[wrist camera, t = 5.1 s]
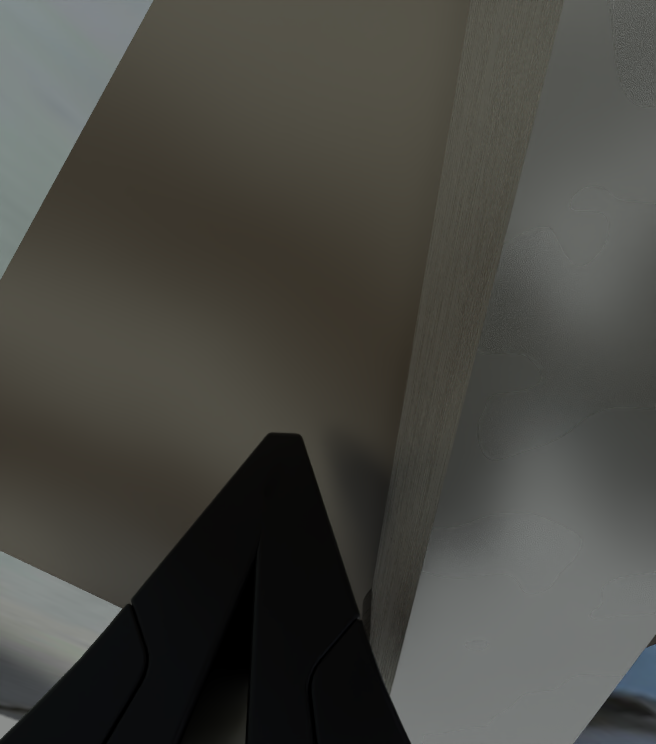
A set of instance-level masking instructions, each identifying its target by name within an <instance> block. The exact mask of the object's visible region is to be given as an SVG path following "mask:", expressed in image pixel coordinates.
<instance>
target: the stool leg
mask: <svg viewBox="0 0 656 744" xmlns="http://www.w3.org/2000/svg"><path fill="white" fill-rule="evenodd" d="M362 621H363V623H364V627H365V630H366V633H367V636H368V639H369V642H370V645H371V648H372V650H373V653H374V656H375V659H376V661H377V664H378V667H379V670H380V672H381V675H382V678H383V681H384V683H385V686H386V688H387V690H388V693H389V695H390V697H391V699H392V702H393V704H394V706H395V709H396V711H397V713H398V716H399V718H400V720H401V723H402V725H403V727H404V729H405V731H406V733H407V735H408V737H409V740H410V742H411V744H573V743H574V742H575V741H576V739H577V738H578V737H579V735H580V734H581V733H582V731H583V730H584V729H585V727H586V726H587V725H588V723H589V722H590V721H591V719H592V718H593V717H594V715H595V714H596V713H597V712H598V710H599V709H600V708H601V706H602V705H603V704H604V702H605V701H606V700H607V698H608V697H609V696H610V694H611V693H612V692H613V690H614V689H615V688H616V686H617V685H618V684H619V682H620V681H621V680H622V678H623V677H624V676H625V674H626V673H627V672H628V670H629V669H630V668H631V666H632V665H633V664H634V662H635V661H636V660H637V658H638V657H639V656H640V654H641V653H642V652H643V650H644V649H645V648H646V647H647V645H648V644H649V643H650V641H651V640H652V639H653V637H654V636H655V635H656V0H471V2H470V8H469V14H468V19H467V25H466V31H465V37H464V43H463V49H462V55H461V61H460V67H459V73H458V79H457V85H456V91H455V97H454V103H453V109H452V115H451V121H450V127H449V133H448V138H447V144H446V150H445V156H444V162H443V168H442V174H441V180H440V186H439V192H438V198H437V204H436V210H435V216H434V222H433V228H432V234H431V240H430V246H429V252H428V258H427V263H426V269H425V275H424V281H423V287H422V293H421V299H420V305H419V311H418V317H417V323H416V329H415V335H414V341H413V347H412V353H411V359H410V365H409V371H408V377H407V382H406V388H405V394H404V400H403V406H402V412H401V418H400V424H399V430H398V436H397V442H396V448H395V454H394V460H393V466H392V472H391V478H390V484H389V490H388V496H387V501H386V507H385V513H384V519H383V525H382V531H381V537H380V543H379V549H378V555H377V561H376V567H375V573H374V579H373V585H372V588H371V589H370V590H369V591H368V593H367V594H366V596H365V597H364V600H363V607H362Z"/></svg>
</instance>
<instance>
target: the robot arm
mask: <svg viewBox="0 0 656 744" xmlns="http://www.w3.org/2000/svg"><path fill="white" fill-rule="evenodd" d="M131 604H132V605H131ZM131 604H126V605H125V606H124V607H123V609H122V610H121V611H120V612H119V614H118V615H117V616H116V617H115V618H114V620H113V621H112V622H111V623H110V625H109V626H108V627H107V628H106V629H105V630H104V632H103V633H102V634H101V635H100V636H99V637H98V638H97V640H96V641H95V642H94V643H93V644H92V645H91V646H90V648H89V649H88V650H87V651H86V652H85V653H84V655H83V656H82V657H81V658H80V659H79V660H78V661H77V662H76V663H75V664H74V665H73V667H72V668H71V669H70V670H69V671H68V672H67V673H66V674H65V675H64V676H63V677H62V678H61V679H60V680H59V681H58V682H57V683H56V684H55V685H54V686H53V687H52V688H51V689H50V690H49V691H48V692H47V693H46V694H45V696H44V697H43V698H42V699H41V700H40V701H39V702H38V703H37V704H36V705H35V706H34V707H33V708H32V709H31V710H30V711H29V712H28V713H27V714H26V715H25V716H24V717H23V718H22V719H21V720H20V721H19V722H18V723H17V724H16V725H15V726H14V727H13V728H11V729H10V731H8V733H6V734H5V735H4V736H3V738H1V739H0V744H411V742H410V740H409V737H408V735H407V733H406V731H405V729H404V727H403V725H402V723H401V720H400V718H399V716H398V713H397V711H396V709H395V706H394V704H393V702H392V699H391V697H390V695H389V693H388V690H387V688H386V686H385V683H384V681H383V678H382V675H381V672H380V670H379V667H378V664H377V661H376V659H375V656H374V653H373V650H372V648H371V645H370V642H369V639H368V636H367V633H366V630H365V627H364V623H363V621H362V620H361V619H360V612H359V609H358V606H357V603H356V600H355V597H354V594H353V591H352V588H351V584H350V581H349V578H348V575H347V572H346V569H345V566H344V563H343V560H342V557H341V554H340V551H339V548H338V545H337V541H336V538H335V535H334V532H333V529H332V526H331V523H330V520H329V517H328V514H327V511H326V508H325V505H324V502H323V499H322V495H321V492H320V489H319V486H318V483H317V480H316V477H315V474H314V471H313V468H312V465H311V462H310V459H309V456H308V452H307V449H306V446H305V443H304V440H303V437H302V436H301V435H300V434H298V433H282V432H270V433H268V434H267V435H266V436H265V437H264V438H263V440H262V441H261V442H260V443H259V444H258V446H257V447H256V448H255V449H254V451H253V452H252V453H251V454H250V455H249V457H248V458H247V459H246V460H245V461H244V463H243V464H242V465H241V466H240V467H239V469H238V470H237V471H236V472H235V474H234V475H233V476H232V477H231V478H230V480H229V481H228V482H227V483H226V484H225V486H224V487H223V488H222V489H221V490H220V492H219V493H218V494H217V495H216V497H215V498H214V499H213V500H212V501H211V503H210V504H209V505H208V506H207V507H206V509H205V510H204V511H203V512H202V513H201V515H200V516H199V517H198V518H197V520H196V521H195V522H194V523H193V524H192V526H191V527H190V528H189V529H188V530H187V532H186V533H185V534H184V535H183V536H182V538H181V539H180V540H179V541H178V543H177V544H176V545H175V546H174V547H173V549H172V550H171V551H170V552H169V553H168V555H167V556H166V557H165V558H164V559H163V561H162V562H161V563H160V564H159V566H158V567H157V568H156V569H155V570H154V572H153V573H152V574H151V575H150V576H149V578H148V579H147V580H146V581H145V582H144V584H143V585H142V586H141V587H140V589H139V590H138V591H137V592H136V593H135V595H134V596H133V597H132V598H131Z"/></svg>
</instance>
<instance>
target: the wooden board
mask: <svg viewBox="0 0 656 744" xmlns="http://www.w3.org/2000/svg"><path fill="white" fill-rule="evenodd" d="M470 2H471V0H154V1H153V3H152V4H151V6H150V8H149V10H148V12H147V13H146V15H145V17H144V19H143V21H142V23H141V24H140V26H139V28H138V30H137V32H136V34H135V35H134V37H133V39H132V41H131V43H130V44H129V46H128V48H127V50H126V52H125V54H124V55H123V57H122V59H121V61H120V63H119V65H118V66H117V68H116V70H115V72H114V74H113V76H112V77H111V79H110V81H109V83H108V85H107V86H106V88H105V90H104V92H103V94H102V96H101V97H100V99H99V101H98V103H97V105H96V107H95V108H94V110H93V112H92V114H91V116H90V118H89V119H88V121H87V123H86V125H85V127H84V128H83V130H82V132H81V134H80V136H79V138H78V139H77V141H76V143H75V145H74V147H73V149H72V150H71V152H70V154H69V156H68V158H67V160H66V161H65V163H64V165H63V167H62V169H61V170H60V172H59V174H58V176H57V178H56V180H55V181H54V183H53V185H52V187H51V189H50V191H49V192H48V194H47V196H46V198H45V200H44V202H43V203H42V205H41V207H40V209H39V211H38V212H37V214H36V216H35V218H34V220H33V222H32V223H31V225H30V227H29V229H28V231H27V233H26V234H25V236H24V238H23V240H22V242H21V243H20V245H19V247H18V249H17V251H16V253H15V254H14V256H13V258H12V260H11V262H10V264H9V265H8V267H7V269H6V271H5V273H4V275H3V276H2V278H1V280H0V551H2V552H4V553H6V554H8V555H11V556H13V557H15V558H17V559H19V560H21V561H23V562H25V563H28V564H30V565H32V566H34V567H36V568H38V569H40V570H42V571H44V572H47V573H49V574H51V575H53V576H55V577H57V578H59V579H61V580H63V581H66V582H68V583H70V584H72V585H74V586H76V587H78V588H80V589H82V590H85V591H87V592H89V593H91V594H93V595H95V596H97V597H99V598H101V599H104V600H106V601H108V602H110V603H112V604H114V605H116V606H118V607H120V608H123V607H124V606H125V605H126V604H131V598H132V597H133V596H134V595H135V593H136V592H137V591H138V590H139V589H140V587H141V586H142V585H143V584H144V582H145V581H146V580H147V579H148V578H149V576H150V575H151V574H152V573H153V572H154V570H155V569H156V568H157V567H158V566H159V564H160V563H161V562H162V561H163V559H164V558H165V557H166V556H167V555H168V553H169V552H170V551H171V550H172V549H173V547H174V546H175V545H176V544H177V543H178V541H179V540H180V539H181V538H182V536H183V535H184V534H185V533H186V532H187V530H188V529H189V528H190V527H191V526H192V524H193V523H194V522H195V521H196V520H197V518H198V517H199V516H200V515H201V513H202V512H203V511H204V510H205V509H206V507H207V506H208V505H209V504H210V503H211V501H212V500H213V499H214V498H215V497H216V495H217V494H218V493H219V492H220V490H221V489H222V488H223V487H224V486H225V484H226V483H227V482H228V481H229V480H230V478H231V477H232V476H233V475H234V474H235V472H236V471H237V470H238V469H239V467H240V466H241V465H242V464H243V463H244V461H245V460H246V459H247V458H248V457H249V455H250V454H251V453H252V452H253V451H254V449H255V448H256V447H257V446H258V444H259V443H260V442H261V441H262V440H263V438H264V437H265V436H266V435H267V434H268V433H270V432H282V433H298V434H300V435H301V436H302V437H303V440H304V443H305V446H306V449H307V452H308V456H309V459H310V462H311V465H312V468H313V471H314V474H315V477H316V480H317V483H318V486H319V489H320V492H321V495H322V499H323V502H324V505H325V508H326V511H327V514H328V517H329V520H330V523H331V526H332V529H333V532H334V535H335V538H336V541H337V545H338V548H339V551H340V554H341V557H342V560H343V563H344V566H345V569H346V572H347V575H348V578H349V581H350V584H351V588H352V591H353V594H354V597H355V600H356V603H357V606H358V609H359V612H360V619H361V620H362V607H363V600H364V597H365V596H366V594H367V593H368V591H369V590H370V589H371V588H372V585H373V579H374V573H375V567H376V561H377V555H378V549H379V543H380V537H381V531H382V525H383V519H384V513H385V507H386V501H387V496H388V490H389V484H390V478H391V472H392V466H393V460H394V454H395V448H396V442H397V436H398V430H399V424H400V418H401V412H402V406H403V400H404V394H405V388H406V382H407V377H408V371H409V365H410V359H411V353H412V347H413V341H414V335H415V329H416V323H417V317H418V311H419V305H420V299H421V293H422V287H423V281H424V275H425V269H426V263H427V258H428V252H429V246H430V240H431V234H432V228H433V222H434V216H435V210H436V204H437V198H438V192H439V186H440V180H441V174H442V168H443V162H444V156H445V150H446V144H447V138H448V133H449V127H450V121H451V115H452V109H453V103H454V97H455V91H456V85H457V79H458V73H459V67H460V61H461V55H462V49H463V43H464V37H465V31H466V25H467V19H468V14H469V8H470ZM131 605H132V604H131ZM654 644H656V635H655V636H654V637H653V639H652V640H651V641H650V643H649V644H648V645H647V647H649V646H652V645H654Z"/></svg>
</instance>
